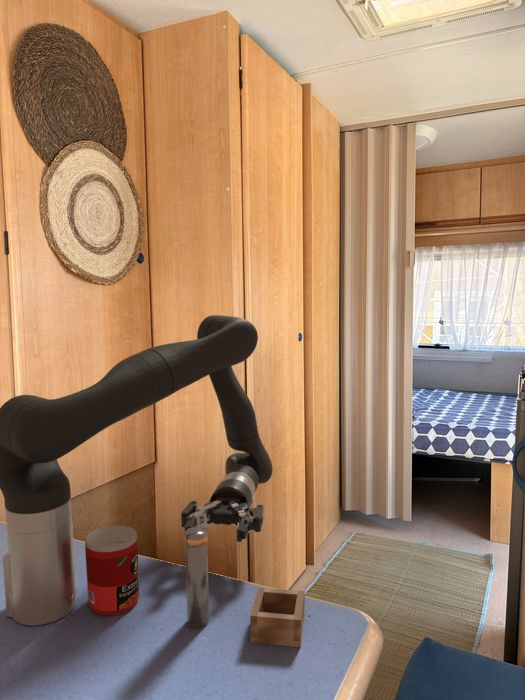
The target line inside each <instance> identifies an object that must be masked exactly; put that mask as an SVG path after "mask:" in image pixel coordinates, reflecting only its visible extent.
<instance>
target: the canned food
mask: <svg viewBox="0 0 525 700" xmlns="http://www.w3.org/2000/svg"><path fill="white" fill-rule="evenodd" d="M84 540H85V541H84V542H85V543H84V549H85V550H84V551H85V552H84V553H85V567H86V571H85V572H86V582H87V583H86V586H87V601H88V605H89V607H90V609H91V611H92V612H94V613H95V614H98V615H101V616H110V617H111V616H118V615H121V614H125V613H126V612H128V611H130V610H132V609H133V608H134V607H135V606H136V605H137V604H138V601H139V599H140V573H139V545H138V534H137V531H136V530H135V529H134V528H133V527H129V526H126V525H108V526H103V527H100V528H97V529H95V530H93V531H91V532H89V533H88V534H87V535H86V537H85V539H84Z"/></svg>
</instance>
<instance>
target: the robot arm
mask: <svg viewBox="0 0 525 700" xmlns="http://www.w3.org/2000/svg"><path fill="white" fill-rule="evenodd" d="M196 335H197V336H196V338H197V339H192V340H184V341H178V342H170V343H163V344H160V345H156V346H152V347H150V348H146V349H145V350H141V351H140V352H137V353H135V354H132V355H130V356H128V357H126V358H124V359H122V360H120V361H119V362H118V363H116V364H115V365H113V367H111V369H110V370H109V371H107V373H106V374H105V375H104V376H103V377H102V378H101V379H100V380H99V381H97V382H96V383H94V384H93V385H91V386H89V387H86V388H84V389H81V390H78V391H77V392H74V393H71V394H68V395H65V396H61V397H58V398H53V399H51V398H50V399H49V398H45V397H43V396H42V397H41V396H39V395H38V396H37V395H33V394H20V395H16V396H13V397H12V398H10V399H8V400H7V401H6V402H4V403H3V404H2V405H1V406H0V491H1V494H2V497H3V501H4V511H5V525H6V526H5V527H6V538H7V539H6V540H7V552H6V553H5V554H4V555H3V557H2V558H1V559H2V573H3V587H4V598H5V599H4V600H5V602H4V603H5V613H6V614H5V615H6V617H7V618H8V617H9V618H12V619H13V620H14V621H15V622H16V623H18V624H19V625H20V624H21V625H24V626H41V625H46V624H50V623H53V622H55V621H58V620H60V619H62V618H64V617H66V616H67V615H69V614H70V612H71V611H73V610H74V608H75V607H76V605H77V588H76V569H75V568H76V566H75V548H74V547H75V545H74V527H73V515H72V514H73V509H72V496H71V495H72V494H71V483H70V480H69V478H68V477H67V475H66V474H65V472H64V471H63V469H62V468H61V466H60V463H59V462H58V460H59V459H60V458H62V457H64V456H66V455H68V454H69V453H71V452H72V451H74V450H75V449H77V448H78V447H80V446H81V445H82V444H84V443H85V442H87V441H89V440H90V439H91V438H93V437H95V436H96V435H98V434H99V433H101V432H102V431H104V430H106V429H107V428H108V427H110V426H112V425H114V424H116V423H118V422H121V421H123V420H124V419H127V418H129V417H131V416H132V415H134V414H136V413H138V412H140V411H142V410H144V409H146V408H148V407H151V406H152V405H154V404H156V403H158V402H161V401H162V400H164V399H165V398H168V397H170V396H171V395H173V394H175V393H176V392H178V391H181V390H182V389H184V388H186V387H188V386H190V385H193V384H195V383H196V382H198V381H200V380H202V379H204V378H205V377H207V376H209V379H210V381H211V384H212V387H213V389H214V392H215V394H216V397H217V401H218V404H219V408H220V410H221V415H222V420H223V421H222V422H223V426H224V431H225V435H226V441H227V444H228V446H229V447H230V448H231V449H233V450H234V451H239V452H237V453H235V452H234V453H232V454H230V455H229V456H228V457H227V458H226V460H225V476H224V477H223V478H222V479H221V480H220V482H219V484H218V485H217V486H216V488H215V490H214V491H213V493H212V494H211V496H210V499H209V501H208V502H207V503H205V504H204V505H199V504H198V502H197V500H192V501H190V502H189V503H188V504H187V506H185V508H184V509H183V510H182V511H181V512H180V520H181V521H180V522H181V527H182V528H184V532H185V531H186V530H187V529H189V528H192V527H202V528H205V529H207V528H209V527H211V526H214V525H227V526H233V527H235V529H236V542H237V543H242V541H243V540H246V539H247V537H248V535H249V533H251V531H253V532H255V533H260V532H262V527H263V523H264V505H263V504H258V505H256V507H253V508H251V506H252V505H253V503H254V498H255V496H256V495H255V493H256V491H257V489H258V487H259V485H260V484H261V485H262V484H266V483H268V482H269V480H270V479H271V477H272V475H273V463H272V460H271V458H270V455H269V453H268V451H267V450H266V448H265V446H264V444H263V442H262V440H261V437H260V434H259V429H258V423H257V416H256V412H255V409H254V407H253V404H252V402H251V400H250V398H249V396H248V395H247V393H246V391H245V390H244V388H243V387H242V384H241V383H240V382H239V380H238V379H237V376H236V374H235V372H234V369H233V367H232V366H236V365H238V364H241V363H243V362H245V361H246V360H247V359H249V357H251V356H252V354H253V353H254V351H255V349H256V348H257V345H258V340H259V335H258V330H257V329H256V327H255V325H254V324H253V323H252V322H251V321H249V320H247V319H246V318H243V317H242V318H241V317H239V316H238V317H237V316H231V315H221V314H213V315H209V316H208V315H207V316H206V317H204V318H203V319H202V321H201V322H200V324H199V325H198V329H197V334H196ZM198 519H199V521H198Z"/></svg>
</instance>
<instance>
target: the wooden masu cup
mask: <svg viewBox="0 0 525 700" xmlns="http://www.w3.org/2000/svg"><path fill="white" fill-rule="evenodd" d="M305 592H306V591H305V590H293V589H283V588H282V589H281V588H268V587H257V591H256V595H255V598H254V601H253V604H252V608H251V613H250V615H249V616H250V617H249V619H250V621H249V622H250V624H249V625H250V630H249V631H250V643H253V644H263V645H274V646H283V647H284V646H285V647H294V648H302V642H303V641H302V640H303V632H304V623H305V616H306V615H305V614H306V613H305V612H306V611H305V609H306V608H305V607H306V606H305V602H306V601H305V600H306V599H305Z"/></svg>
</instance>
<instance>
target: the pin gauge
mask: <svg viewBox="0 0 525 700" xmlns="http://www.w3.org/2000/svg"><path fill="white" fill-rule="evenodd" d="M208 535H209V534H208V529H207V528H204V527H192V528H189V529H187V530H186V531H185V530H184V544H185V545H184V546H185V547H184V548H185V552H184V554H185V584H186V585H185V586H186V589H185V590H186V618H187V621H186V622H187V623H186V624H187V625H188V627H189V628H191V629H203V628H205V627H207V626H208V625H209V622H210V607H209V606H210V605H209V601H210V600H209V599H210V597H209V557H208V554H209V553H208V541H209V540H208V539H209V538H208Z"/></svg>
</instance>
